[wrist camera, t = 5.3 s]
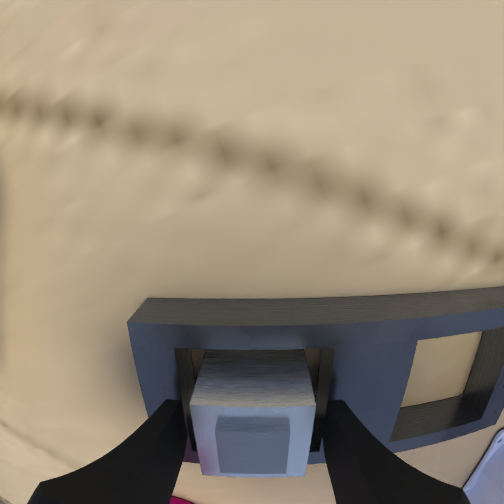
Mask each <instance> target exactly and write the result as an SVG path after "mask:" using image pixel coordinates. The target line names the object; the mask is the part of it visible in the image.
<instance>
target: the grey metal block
mask: <svg viewBox="0 0 504 504" xmlns="http://www.w3.org/2000/svg"><path fill="white" fill-rule="evenodd" d="M190 410H191V416H192V422H193V428H194V434H195V439H196V445H197V450H198V455H199V460H200V465H201V470H202V475H210V476H226V477H297V476H305V473H306V467H307V461H308V456H309V450H310V443H311V437H312V431H313V424H314V417H315V410H316V403H315V398H314V393H313V389H312V384H311V379H310V375H309V370H308V366H307V361H306V357H305V352H304V349H279V350H223V349H206V351H205V354H204V358H203V361H202V364H201V368H200V371H199V374H198V378H197V381H196V384H195V388H194V391H193V394H192V398H191V401H190Z"/></svg>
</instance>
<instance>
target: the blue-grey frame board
mask: <svg viewBox="0 0 504 504" xmlns="http://www.w3.org/2000/svg"><path fill="white" fill-rule="evenodd" d="M127 325H128V331H129V336H130V341H131V346H132V351H133V356H134V360H135V365H136V369H137V374H138V378H139V382H140V386H141V390H142V394H143V398H144V402H145V406H146V410H147V413H148V417H150V416H151V415H152V414H153V413H154V412H155V411H156V410H157V408H158V407H159V406H160V405H161V404H162V403H163V402H164V401H165V400H166V399H172V400H181V402H182V407H183V412H184V418H185V423H186V428H187V433H188V437H187V443H186V449H185V455H184V458H183V462H190V463H200V460H199V455H198V450H197V445H196V439H195V434H194V428H193V422H192V416H191V410H190V401H191V398H192V394H193V391H194V388H195V381H194V373H193V365H192V358H191V349H223V350H279V349H312V348H321V355H320V366H319V376H318V385H317V394H316V402H315V403H316V410H315V417H314V424H313V431H312V437H311V443H310V450H309V456H308V461H307V464H318V463H326V460H325V456H324V448H323V439H322V432H323V426H324V420H325V414H326V407H327V401H329V400H341V399H343V400H344V401H345V402H346V404H347V405H348V406H349V408H350V409H351V410H352V411H353V413H354V414H355V415H356V416H357V418H358V419H359V420H360V421H361V422H362V423H363V425H364V426H365V427H366V428H367V429H368V430H369V431H370V432H371V433H372V434H373V435H374V436H375V437H376V438H377V439H378V440H379V441H380V442H381V443H382V444H383V445H384V446H385V447H386V448H387V449H389V450H390V451H391V452H392V453H396V452H401V451H406V450H411V449H415V448H419V447H423V446H427V445H431V444H435V443H439V442H443V441H446V440H450V439H453V438H456V437H460V436H463V435H466V434H469V433H472V432H475V431H478V430H481V429H484V428H487V427H489V426H492V425H495V424H496V422H497V420H498V418H499V416H500V414H501V412H502V410H503V408H504V286H503V287H493V288H482V289H471V290H459V291H446V292H432V293H418V294H401V295H383V296H361V297H336V298H300V299H168V298H147V299H146V300H145V301H144V303H143V304H142V305H141V306H140V307H139V308H138V310H137V311H136V312H135V313H134V314H133V315H132V317H131V318H130V319H129V320H128V321H127ZM483 330H484V331H483ZM477 331H483V334H482V338H481V341H480V345H479V348H478V352H477V355H476V358H475V361H474V364H473V367H472V370H471V373H470V376H469V379H468V382H467V385H466V387H465V390H464V393H463V395H461V396H457V397H453V398H449V399H444V400H440V401H435V402H431V403H426V404H421V405H416V406H410V407H405V408H400V406H401V403H402V400H403V396H404V393H405V389H406V386H407V382H408V378H409V374H410V371H411V367H412V363H413V358H414V354H415V350H416V345H417V341H418V340H422V339H430V338H438V337H445V336H452V335H459V334H465V333H471V332H477Z"/></svg>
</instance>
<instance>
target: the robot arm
mask: <svg viewBox="0 0 504 504" xmlns="http://www.w3.org/2000/svg"><path fill="white" fill-rule="evenodd" d="M187 437H188V433H187V428H186V423H185V418H184V412H183V407H182V402H181V400H172V399H166V400H165V401H164V402H163V403H162V404H161V405H160V406H159V407H158V408H157V410H156V411H155V412H154V413H153V414H152V415H151V416H150V417H149V418H148V419H147V420H146V421H145V422H144V423H143V424H142V425H141V426H140V427H139V428H138V429H137V430H136V431H135V432H134V433H133V434H131V435H130V436H129V437H128V438H127V439H126V440H125V441H123V442H122V443H121V444H120V445H118V446H117V447H116V448H114V449H113V450H112V451H110V452H109V453H107V454H106V455H104V456H103V457H101V458H99V459H98V460H96V461H94V462H92V463H90V464H88V465H87V466H85V467H83V468H80V469H78V470H76V471H74V472H71V473H68V474H66V475H63V476H60V477H57V478H53V479H50V480H46V481H42V482H40V483H39V485H38V486H37V488H36V489H35V491H34V493H33V494H32V496H31V498H30V500H29V501H28V503H27V504H170V500H171V496H172V493H173V490H174V487H175V484H176V481H177V477H178V474H179V471H180V468H181V465H182V462H183V458H184V455H185V449H186V443H187ZM322 439H323V448H324V456H325V460H326V464H327V468H328V472H329V475H330V479H331V483H332V487H333V491H334V495H335V499H336V504H504V429H503V430H501V431H500V432H499V433H498V434H497V435H496V437H495V439H494V440H493V442H492V444H491V446H490V447H489V449H488V451H487V452H486V454H485V456H484V457H483V459H482V461H481V462H480V464H479V465H478V467H477V468H476V470H475V472H474V473H473V475H472V476H471V478H470V479H469V481H468V482H467V483H466V485H465V486H464V488H463V489H462V488H459V487H456V486H453V485H450V484H447V483H444V482H441V481H439V480H437V479H435V478H432V477H430V476H428V475H426V474H424V473H422V472H421V471H419V470H417V469H415V468H414V467H412V466H410V465H409V464H407V463H406V462H404V461H403V460H401V459H400V458H399V457H397V456H396V455H395V454H393V453H392V452H391V451H390V450H389V449H387V448H386V447H385V446H384V445H383V444H382V443H381V442H380V441H379V440H378V439H377V438H376V437H375V436H374V435H373V434H372V433H371V432H370V431H369V430H368V429H367V428H366V427H365V426H364V425H363V423H362V422H361V421H360V420H359V419H358V418H357V416H356V415H355V414H354V413H353V411H352V410H351V409H350V408H349V406H348V405H347V404H346V402H345V401H344V400H343V399H341V400H329V401H327V407H326V414H325V420H324V426H323V432H322Z"/></svg>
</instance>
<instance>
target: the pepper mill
mask: <svg viewBox="0 0 504 504" xmlns="http://www.w3.org/2000/svg"><path fill="white" fill-rule="evenodd" d="M170 504H193V503H191V502H188V501H185V500H183V499H179V498H176V497H172V496H171V500H170Z"/></svg>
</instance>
